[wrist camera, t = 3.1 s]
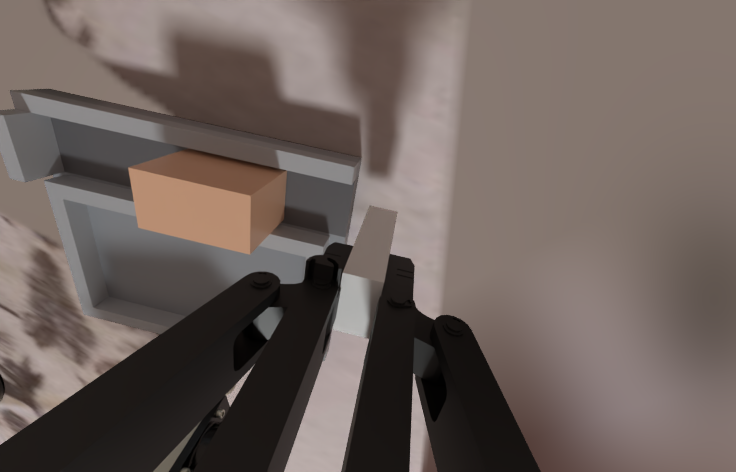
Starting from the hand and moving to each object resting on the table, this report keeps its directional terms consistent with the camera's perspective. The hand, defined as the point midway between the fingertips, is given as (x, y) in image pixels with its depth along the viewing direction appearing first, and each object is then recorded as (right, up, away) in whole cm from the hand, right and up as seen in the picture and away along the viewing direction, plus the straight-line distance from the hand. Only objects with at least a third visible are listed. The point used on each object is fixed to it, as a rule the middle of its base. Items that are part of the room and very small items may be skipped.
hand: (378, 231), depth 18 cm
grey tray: (-12, 0, +6) cm, 13 cm away
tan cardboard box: (-8, +3, +2) cm, 9 cm away
